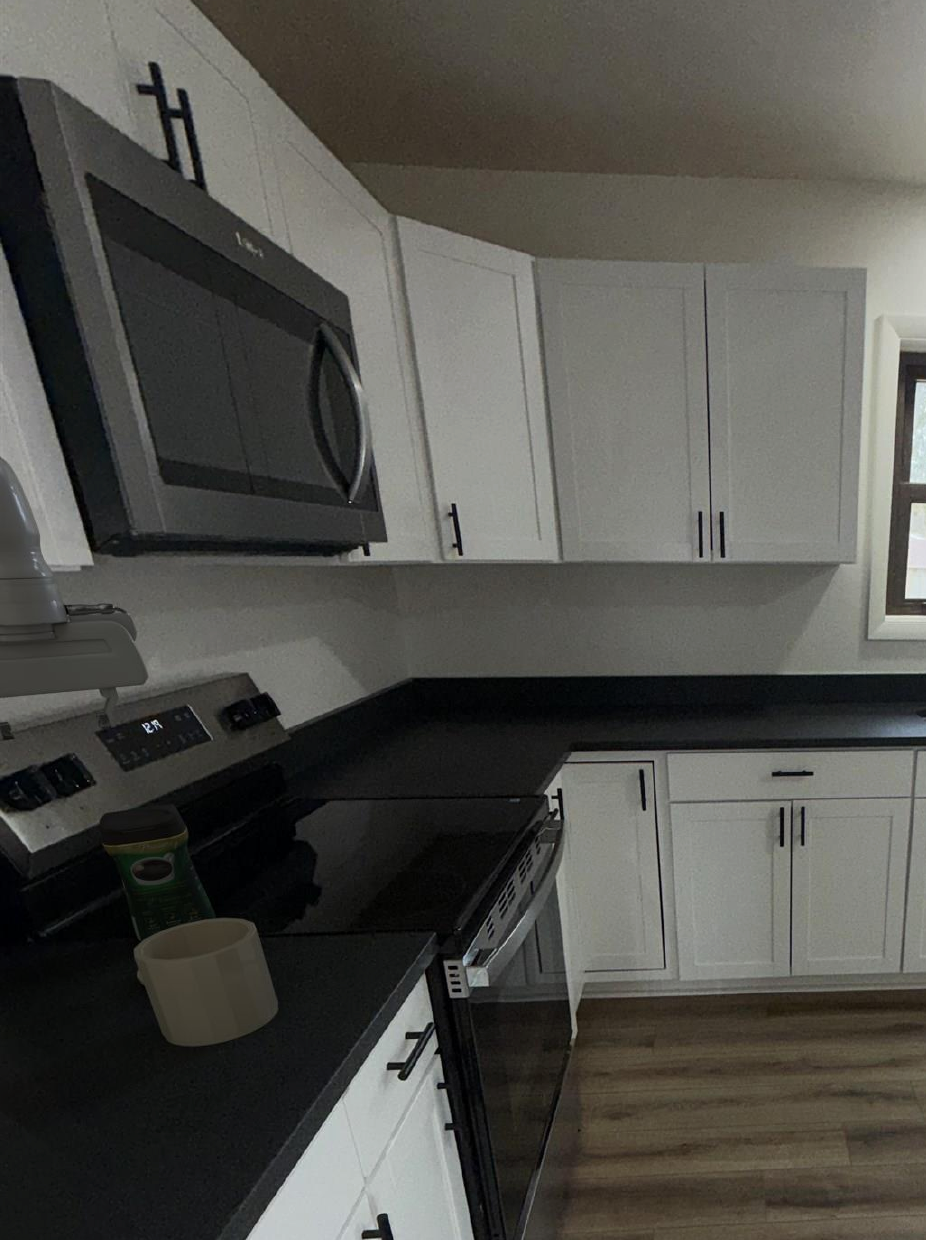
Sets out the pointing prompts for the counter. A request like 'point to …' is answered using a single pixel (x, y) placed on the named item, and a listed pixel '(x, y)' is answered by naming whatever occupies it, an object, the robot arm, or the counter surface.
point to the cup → (207, 981)
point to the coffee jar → (155, 868)
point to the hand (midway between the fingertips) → (58, 733)
